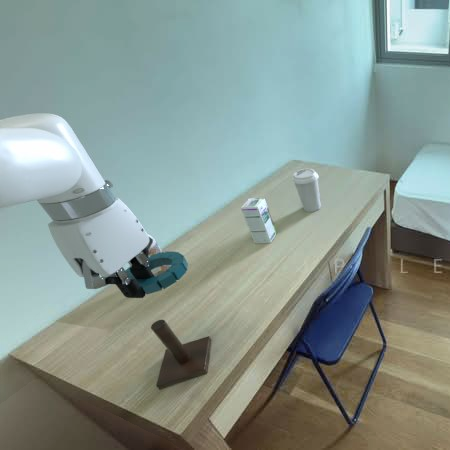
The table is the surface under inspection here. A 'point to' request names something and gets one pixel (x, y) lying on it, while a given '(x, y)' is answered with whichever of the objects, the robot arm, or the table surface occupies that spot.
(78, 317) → the table surface
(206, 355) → the stand
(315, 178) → the coffee cup
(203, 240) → the table surface
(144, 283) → the ring
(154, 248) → the bath foam
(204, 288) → the table surface
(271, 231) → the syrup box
